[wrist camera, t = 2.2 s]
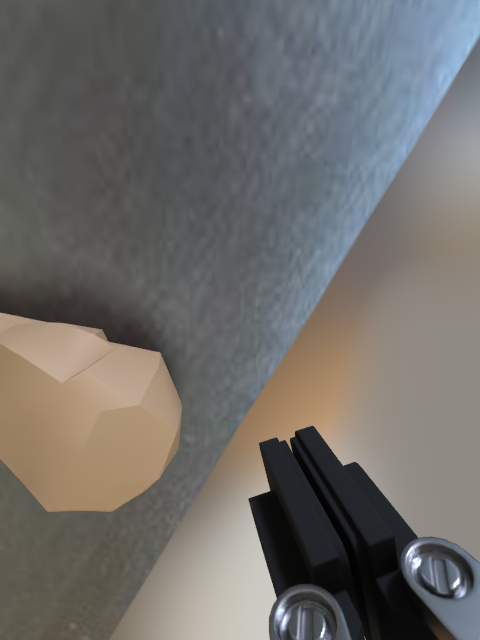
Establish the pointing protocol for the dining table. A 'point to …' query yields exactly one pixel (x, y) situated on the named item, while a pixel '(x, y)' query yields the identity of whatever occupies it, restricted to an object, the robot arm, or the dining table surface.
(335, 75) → the dining table surface
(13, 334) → the squash
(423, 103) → the dining table surface
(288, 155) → the dining table surface
